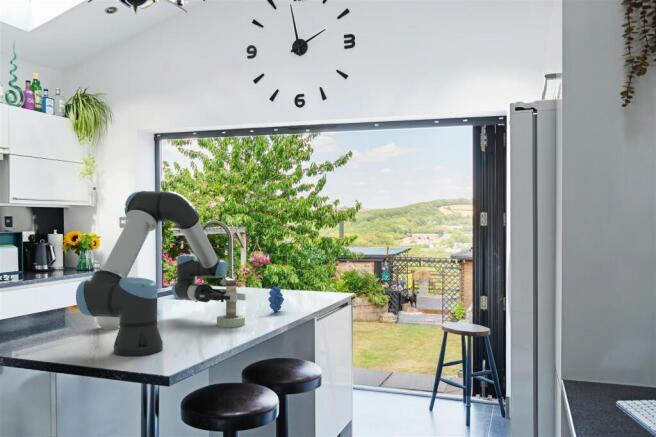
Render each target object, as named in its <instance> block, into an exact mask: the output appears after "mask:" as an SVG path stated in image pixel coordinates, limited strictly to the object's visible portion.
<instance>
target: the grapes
mask: <svg viewBox="0 0 656 437" xmlns="http://www.w3.org/2000/svg"><path fill="white" fill-rule="evenodd" d="M268 294H269V297H268V302H269V308H270V309H271V310H272V311H273V312H274V313H277V312H278V311H280V310H281V309H282V306H281V305H283V304H284V301H285V298H284V297H283V296H284V294H283V293H282V292H281V289H280V287H278V286H276V285H273V286H272V288H271V290H270V291H269V292H268Z"/></svg>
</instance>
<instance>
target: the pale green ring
mask: <svg viewBox="0 0 656 437" xmlns="http://www.w3.org/2000/svg"><path fill="white" fill-rule="evenodd" d="M245 324H246V316H245V315H242V314H236V318H226V314H223V315H219V316H217V317H216V326H218V327H221V328H237V327H242V326H245Z"/></svg>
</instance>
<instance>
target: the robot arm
mask: <svg viewBox="0 0 656 437" xmlns="http://www.w3.org/2000/svg"><path fill="white" fill-rule="evenodd" d="M124 205H125V207H124V215H125V219H126V224H125V226H124V228H122V231H121V233H120V235H119V236H118V238H117V239H116V242H115V244H114V246H113V247H112V249H111V251H110V253H109V255H108V257H107V259H106V261H105V262H104V264H103V266H102V268H101V269H99V270H96V271H95V272H93V275H92V276H91V279H90V280H89V279H85V280H82V281H80V283H79V284H78V285H77V288H76V292H75V301H76V306H77V309H78V310H79V312H80V313H81V314H83V315H84V316H87V317H88V316H90V317H94V318H96V317H97V316H101V317H120V326H119V328H118V332H117V334H116V337H115V341H114V344H113V353H114V354H115V355H118V356H128V357H134V356H136V357H137V356H146V355H152V354H156V353H158V352H159V353H160V352H161V351H163V346H164V343H163V340H162V337H161V333H160V331H159V330H160V329H159V327H158V296H159V293H158V285H157V283H156V282H155V281H154V280H152V279H149V278H143V277H135V276H134V277H133V276H131V277H130V276H129V277H128V275H129V273H130V271H131V269H132V268H133V266H134V263H135V262H136V259H137V257H138V255H139V254H140V252H141V250H142V248H143V245H145V241H146V239H147V237H148V235H149V234H150V232H154V231H155V230H156V229H157V227H158V225H159V223H160V222H161V223H162V222H163V223H165V222H170V223H172V224H175V227H176V228H177V229H179V230H180V231H181V232H182V234H183V235H184V237H185V239H186V240H187V243H188V245H189V246H190V248H191V250H192V251H193V254H180V255H178V256H177V260H176V261H177V262H176V269H177V270H176V275H177V277H176V282H174V283H173V285H172V288H171V294H172V295H173V297H174V298H176V299H180V300H187V301H194V302H195V303H198V302H201V303H208V302H210V301H217V302H219V301H220V302H221V303H224V301H225V302H226V301H232V302H236V303H238V301H243V302H244V301H246V300H247V299H246V295H247V294H246V293H243V292H238V291H236V295H233V294H226V289H224V288H223V289H217V288H213V287H212V286H211V285H210V284H208V283H207V284H205V283H201V282H200V283H199V282H195V280H196V278H214V279H218V278H224V277H226V276H227V273H228V262H227V261H226V260H224V259H219V258H218V256H217V254H216V251H215V250H214V248H213V246H212V244H211V242H210V241H209V238H208V236H207V234H206V232H205V230H204V228H203V226H202V223H201V222H200V214H199V213H198V211H197V210H198V209H197V208H196V207H195V205H193V203H192V202H191V201H190V200H188V199H187V197H185V196H183V195H182V194H180V193H178V192H175V191H171V190H166V191H163V190H162V191H160V190H159V191H157V190H156V191H155V190H153V191H151V190H150V191H149V190H141V191H134V192H133V193H131V194H129V196H128V197H127V198H126V201H125V203H124ZM196 258H197V259H196Z"/></svg>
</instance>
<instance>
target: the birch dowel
mask: <svg viewBox="0 0 656 437" xmlns="http://www.w3.org/2000/svg"><path fill="white" fill-rule="evenodd" d="M225 290H226V294H233V295H236V292H237V280H236V279H227V280H225ZM225 315H226V318H236V315H237V302H232V301H225Z"/></svg>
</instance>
